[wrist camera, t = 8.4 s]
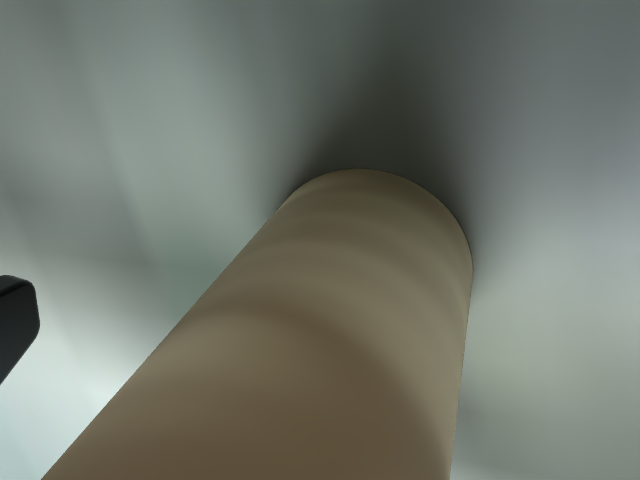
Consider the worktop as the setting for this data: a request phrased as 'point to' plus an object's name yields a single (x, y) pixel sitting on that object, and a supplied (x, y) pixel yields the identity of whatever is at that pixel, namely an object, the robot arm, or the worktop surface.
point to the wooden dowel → (306, 351)
